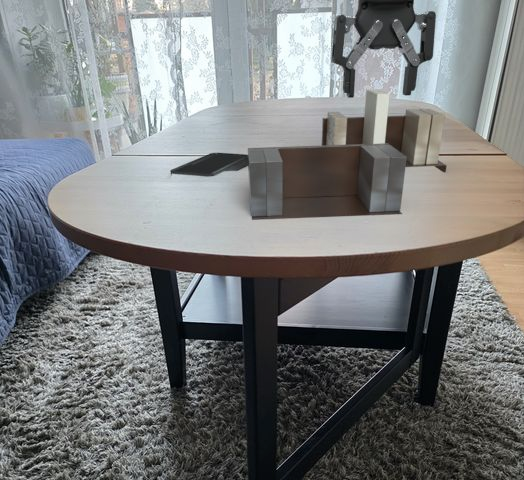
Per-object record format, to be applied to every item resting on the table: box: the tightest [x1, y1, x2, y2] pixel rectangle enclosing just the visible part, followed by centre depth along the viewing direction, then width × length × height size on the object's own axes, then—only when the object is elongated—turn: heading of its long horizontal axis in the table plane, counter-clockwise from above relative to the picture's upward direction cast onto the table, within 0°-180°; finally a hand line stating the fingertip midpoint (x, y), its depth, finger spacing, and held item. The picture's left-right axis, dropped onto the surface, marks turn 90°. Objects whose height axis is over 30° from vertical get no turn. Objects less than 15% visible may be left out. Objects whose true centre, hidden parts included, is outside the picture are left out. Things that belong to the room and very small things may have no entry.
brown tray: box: [321, 108, 447, 173], centre depth 79 cm, size 18×9×8 cm, turn 93°
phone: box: [169, 152, 248, 178], centre depth 82 cm, size 8×1×15 cm
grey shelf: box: [247, 143, 407, 221], centre depth 60 cm, size 17×9×7 cm, turn 93°
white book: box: [362, 88, 391, 144], centre depth 78 cm, size 2×7×10 cm, turn 3°
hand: (378, 96), depth 76 cm, fingers open, 8 cm apart
